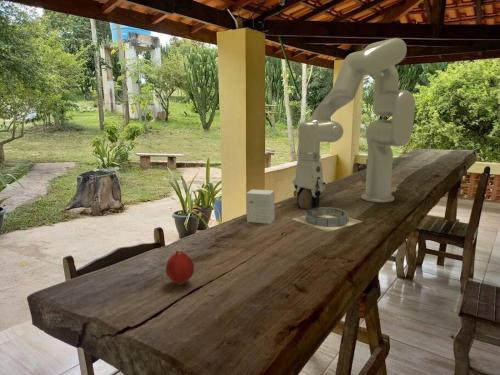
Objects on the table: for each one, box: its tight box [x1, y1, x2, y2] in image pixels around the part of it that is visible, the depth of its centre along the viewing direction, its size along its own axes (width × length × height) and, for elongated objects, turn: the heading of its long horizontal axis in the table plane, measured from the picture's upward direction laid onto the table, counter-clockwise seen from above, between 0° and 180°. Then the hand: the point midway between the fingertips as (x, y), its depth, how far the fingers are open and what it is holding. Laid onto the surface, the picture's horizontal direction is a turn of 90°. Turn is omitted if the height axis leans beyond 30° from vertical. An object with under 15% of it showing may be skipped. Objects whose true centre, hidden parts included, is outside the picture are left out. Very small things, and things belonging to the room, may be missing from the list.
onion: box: [165, 249, 195, 286], centre depth 75 cm, size 6×6×8 cm
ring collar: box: [304, 206, 350, 227], centre depth 116 cm, size 13×13×2 cm
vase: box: [298, 188, 313, 211], centre depth 131 cm, size 7×7×9 cm
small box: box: [245, 189, 276, 225], centre depth 116 cm, size 8×6×10 cm
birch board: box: [292, 215, 363, 233], centre depth 116 cm, size 16×16×1 cm
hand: (307, 204), depth 131 cm, fingers closed on vase, 6 cm apart
